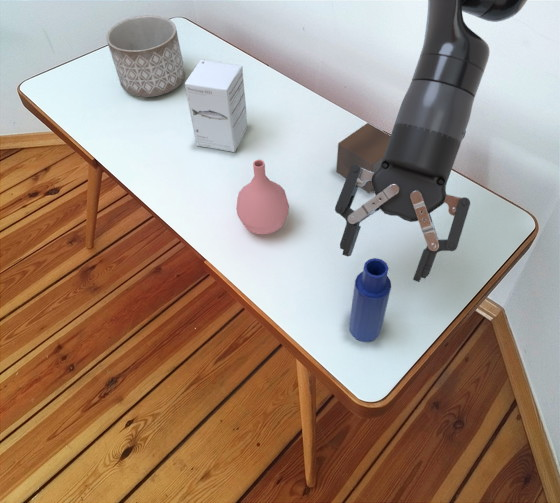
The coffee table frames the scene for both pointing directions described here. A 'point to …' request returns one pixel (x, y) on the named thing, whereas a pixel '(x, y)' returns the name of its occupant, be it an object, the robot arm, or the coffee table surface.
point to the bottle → (370, 300)
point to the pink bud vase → (262, 203)
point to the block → (362, 151)
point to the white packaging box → (217, 104)
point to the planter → (146, 55)
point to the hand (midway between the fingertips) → (380, 267)
